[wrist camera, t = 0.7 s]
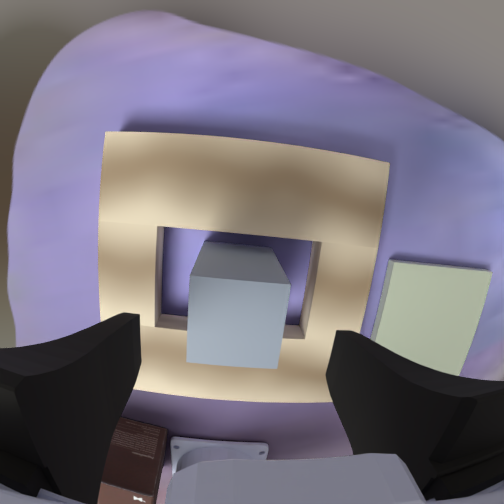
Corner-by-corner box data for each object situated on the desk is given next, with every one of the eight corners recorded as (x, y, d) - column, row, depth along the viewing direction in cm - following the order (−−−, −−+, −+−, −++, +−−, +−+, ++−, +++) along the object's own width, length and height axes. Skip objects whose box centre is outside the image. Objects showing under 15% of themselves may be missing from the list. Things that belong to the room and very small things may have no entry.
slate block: (263, 308, 21) (277, 368, 14) (200, 303, 20) (186, 362, 13) (270, 247, 20) (291, 284, 13) (204, 240, 19) (189, 275, 13)
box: (98, 407, 22) (68, 469, 15) (169, 427, 23) (155, 496, 15) (100, 451, 23) (78, 508, 16) (163, 468, 24) (152, 530, 17)
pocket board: (332, 385, 22) (339, 401, 20) (115, 368, 21) (107, 384, 19) (375, 163, 19) (389, 162, 17) (117, 135, 18) (105, 131, 16)
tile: (452, 376, 23) (456, 380, 23) (356, 384, 22) (359, 390, 22) (486, 269, 21) (492, 272, 20) (388, 259, 20) (394, 262, 20)
